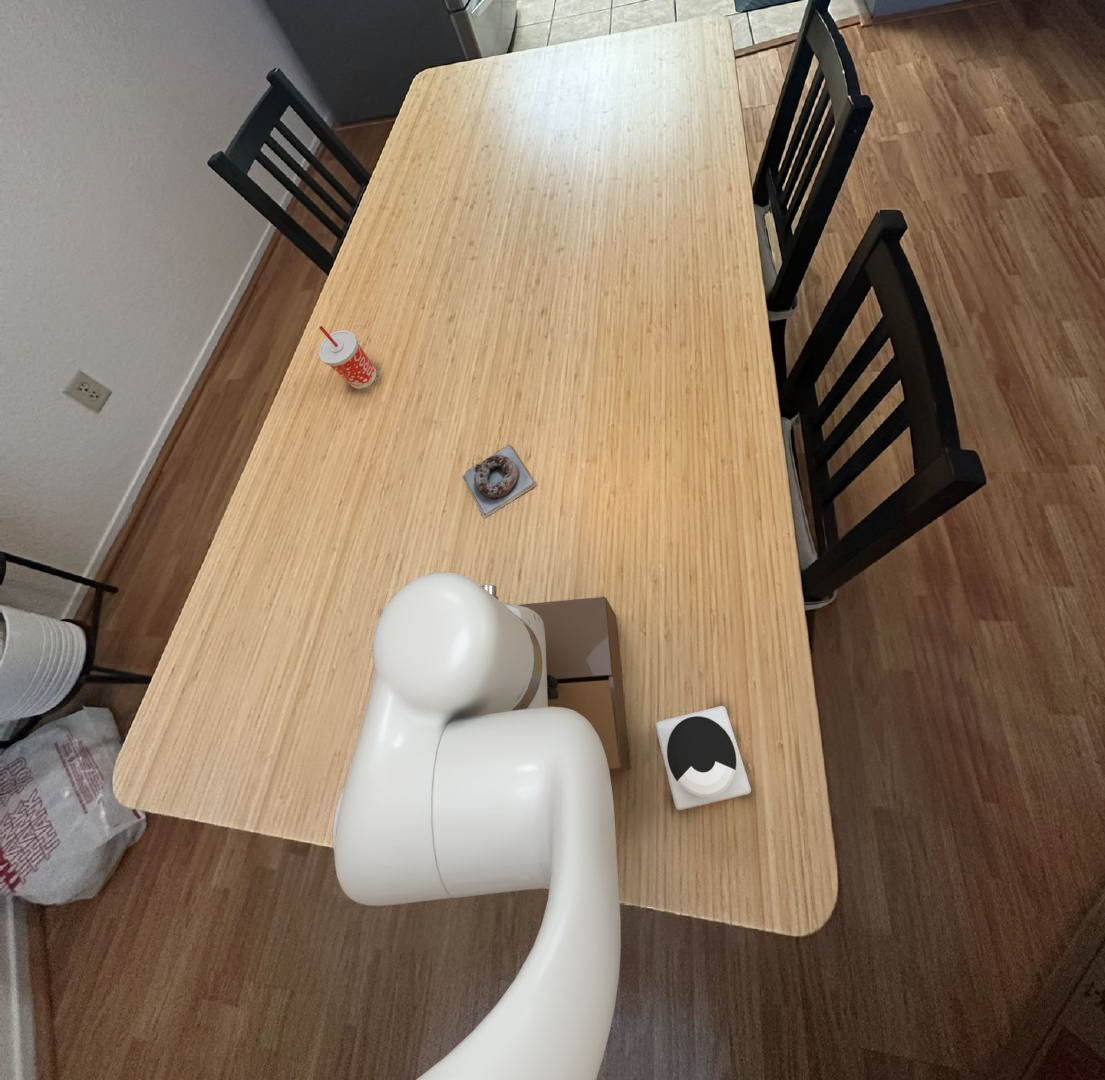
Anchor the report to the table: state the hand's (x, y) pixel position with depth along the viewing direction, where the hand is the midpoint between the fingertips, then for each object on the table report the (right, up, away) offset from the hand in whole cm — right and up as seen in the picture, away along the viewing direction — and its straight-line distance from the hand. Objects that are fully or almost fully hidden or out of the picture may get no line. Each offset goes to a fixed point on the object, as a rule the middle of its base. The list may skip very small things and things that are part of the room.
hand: (541, 690), depth 59 cm
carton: (+3, -6, +11) cm, 13 cm away
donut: (-6, +14, +28) cm, 31 cm away
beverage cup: (-30, +27, +43) cm, 59 cm away
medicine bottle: (+17, -10, +6) cm, 20 cm away
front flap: (0, -3, 0) cm, 3 cm away
